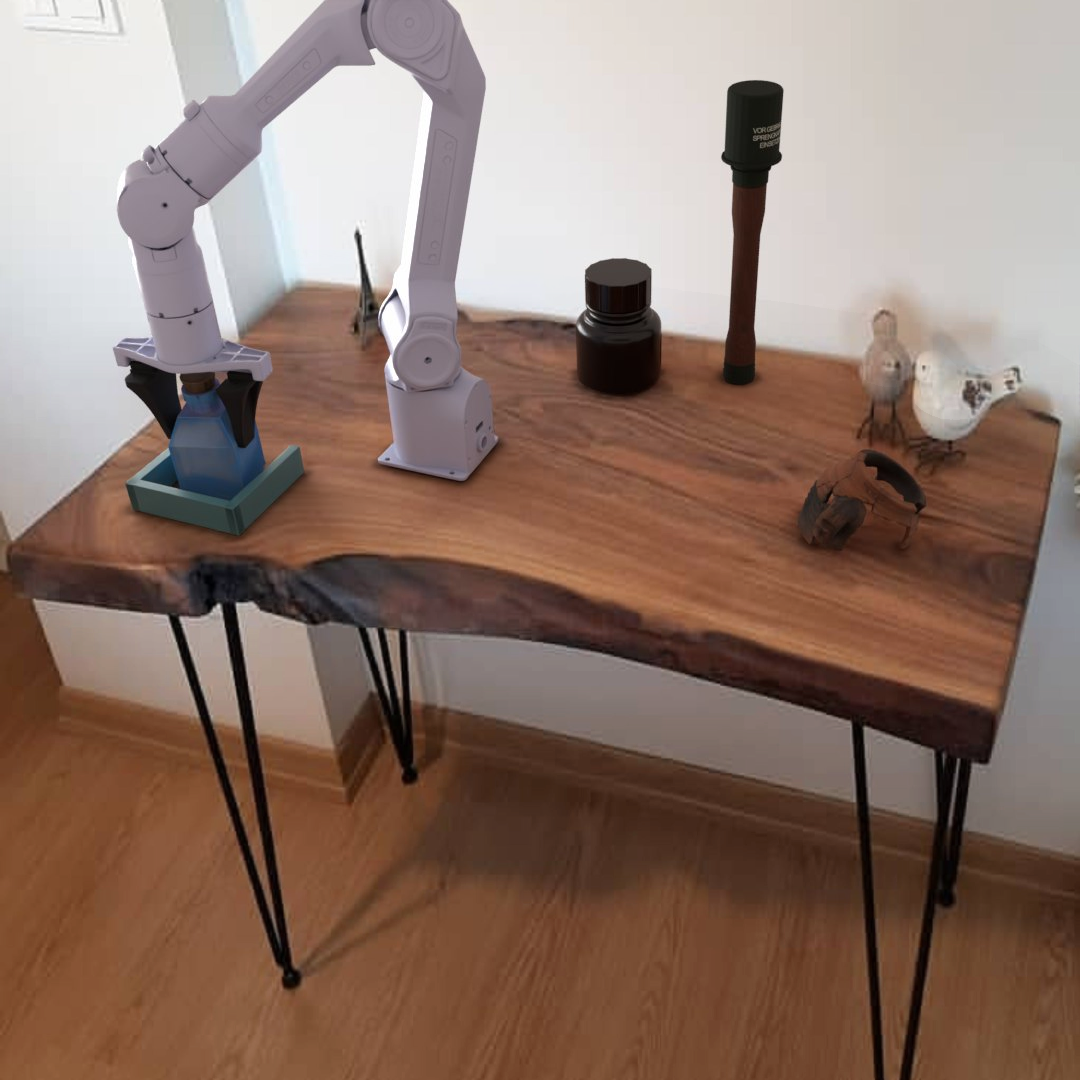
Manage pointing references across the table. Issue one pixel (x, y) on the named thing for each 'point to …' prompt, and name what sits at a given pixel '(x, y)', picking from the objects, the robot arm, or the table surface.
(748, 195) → the grenade
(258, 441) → the perfume bottle
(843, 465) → the brown curved piece
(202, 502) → the bay
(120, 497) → the table surface
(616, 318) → the ink bottle
